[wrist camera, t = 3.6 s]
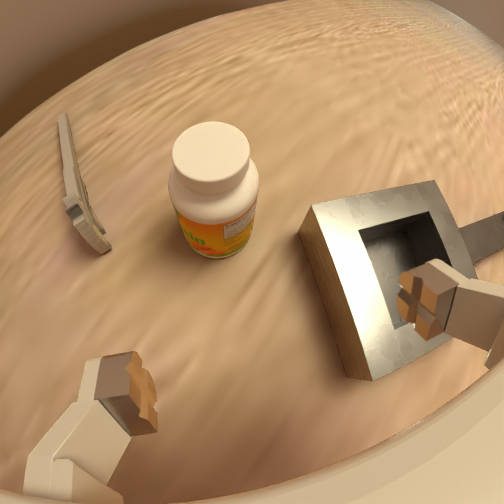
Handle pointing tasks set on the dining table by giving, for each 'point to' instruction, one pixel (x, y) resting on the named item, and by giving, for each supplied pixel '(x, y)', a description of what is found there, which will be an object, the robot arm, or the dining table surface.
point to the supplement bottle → (214, 188)
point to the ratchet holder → (386, 267)
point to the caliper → (78, 193)
